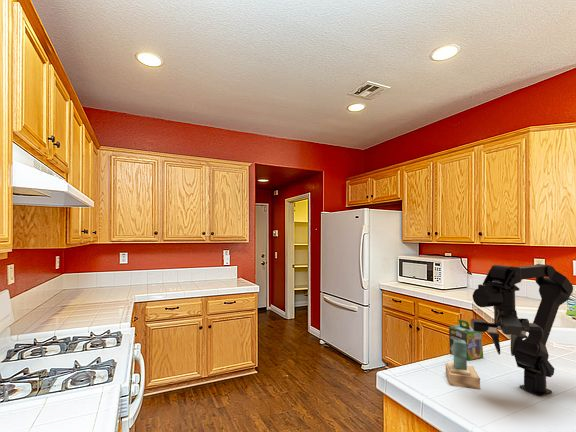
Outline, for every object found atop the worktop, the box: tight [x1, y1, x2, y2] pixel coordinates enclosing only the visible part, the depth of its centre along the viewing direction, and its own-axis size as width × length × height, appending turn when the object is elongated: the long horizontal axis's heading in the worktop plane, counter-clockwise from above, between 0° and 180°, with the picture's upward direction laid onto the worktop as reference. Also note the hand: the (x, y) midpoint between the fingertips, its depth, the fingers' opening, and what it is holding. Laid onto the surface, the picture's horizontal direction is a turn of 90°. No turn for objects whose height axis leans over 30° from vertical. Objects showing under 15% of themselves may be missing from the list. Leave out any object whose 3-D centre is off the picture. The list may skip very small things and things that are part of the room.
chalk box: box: [448, 318, 484, 361], centre depth 137 cm, size 9×9×15 cm
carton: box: [445, 362, 481, 390], centre depth 114 cm, size 9×10×4 cm
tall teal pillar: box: [447, 339, 471, 375], centre depth 115 cm, size 6×8×10 cm
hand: (505, 354), depth 103 cm, fingers open, 3 cm apart
